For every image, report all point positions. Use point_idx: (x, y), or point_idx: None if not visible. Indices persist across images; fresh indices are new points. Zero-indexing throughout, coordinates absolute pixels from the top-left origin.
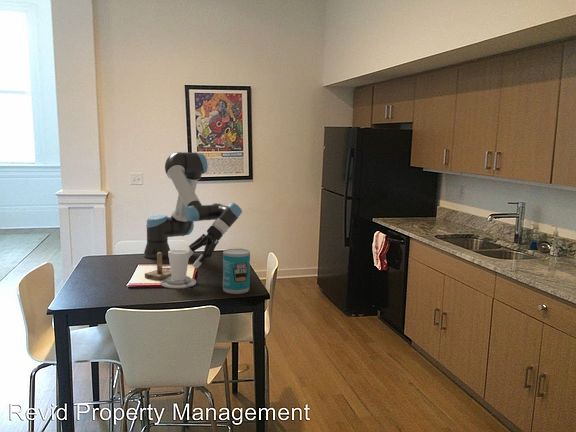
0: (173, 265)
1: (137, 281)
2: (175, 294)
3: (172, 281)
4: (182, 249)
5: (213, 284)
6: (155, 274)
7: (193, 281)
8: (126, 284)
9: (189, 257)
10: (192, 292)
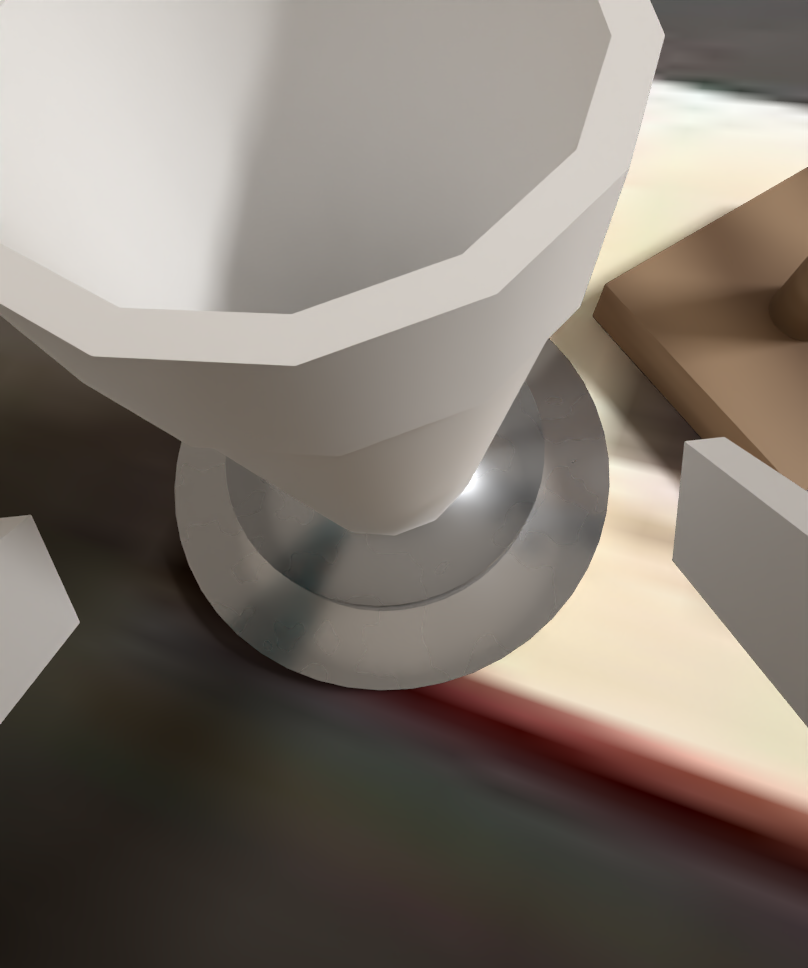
0: (254, 212)
1: (638, 137)
2: None
3: None
4: (565, 197)
5: (146, 909)
6: (730, 258)
7: (312, 638)
8: None
9: (760, 667)
10: (4, 517)
